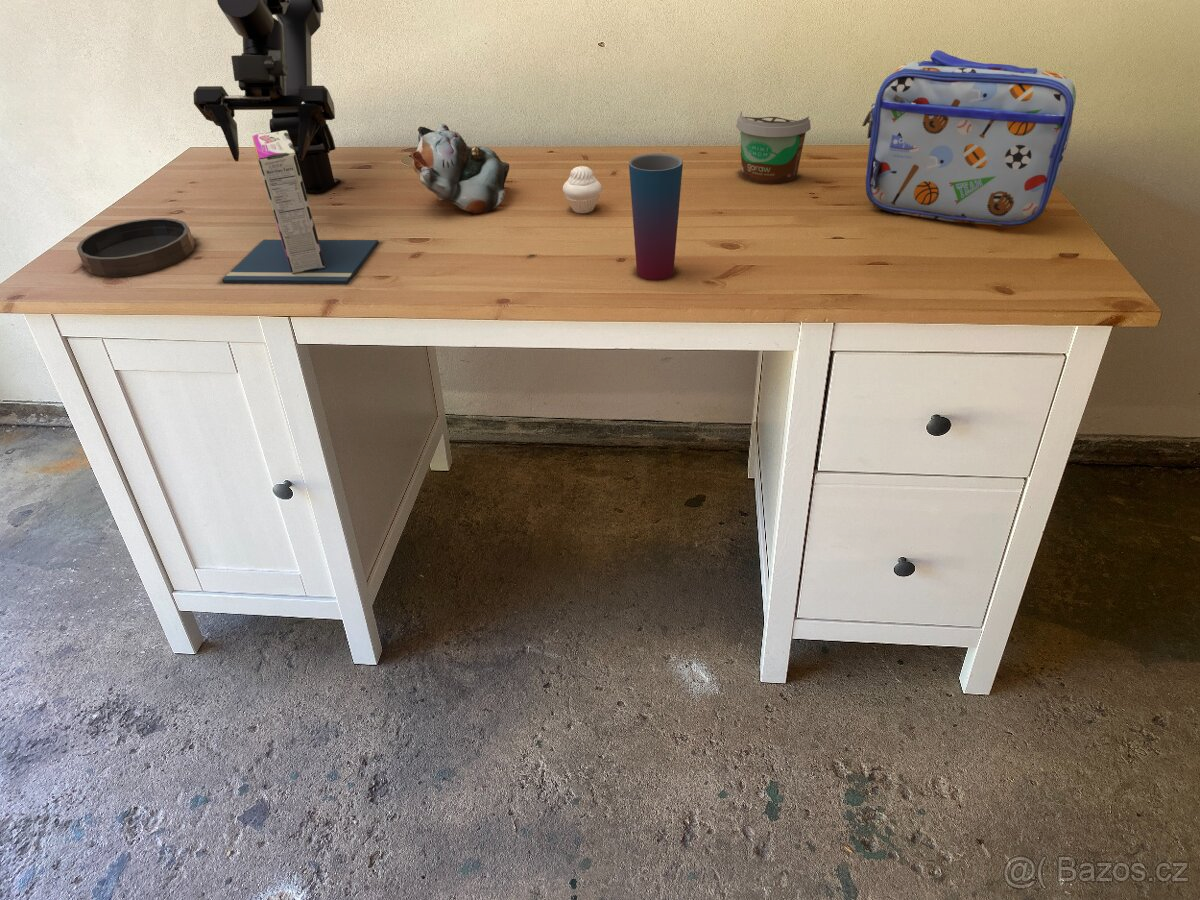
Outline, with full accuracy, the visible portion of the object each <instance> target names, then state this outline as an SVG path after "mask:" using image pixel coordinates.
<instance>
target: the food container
mask: <svg viewBox="0 0 1200 900" xmlns="http://www.w3.org/2000/svg"><path fill="white" fill-rule="evenodd" d="M735 127H736V129H737V130H738V131H739V133H740V160H741V161H740V163H741V176H742V177H743V178H744V179H746V180H747V181H750V182H753V183H758V184H771V185H773V184H782V183H786V182H787V183H788V182H790V181H792V180H795V179H796V178H797V175H798V171H799V166H800V162H801V157H802V152H803V148H804V143H805V138H806V133H808V132H809V131H810V130H811V129H812V127H811V119H810V115H807V116H806V117H804V118H802V119H798V120H793V119H787V118H783V117H778V116H764V117H750V116H743V111H742V110H741V111H740V113H739V114H738V117H737V121H736V125H735Z"/></svg>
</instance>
